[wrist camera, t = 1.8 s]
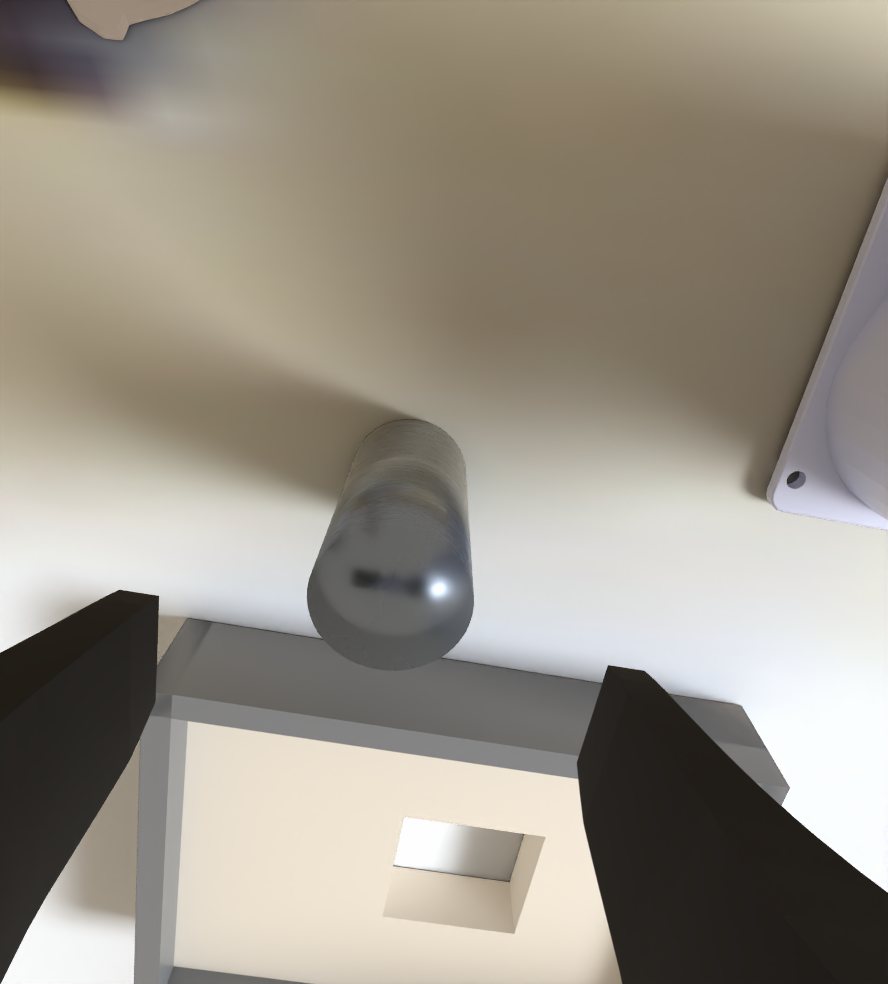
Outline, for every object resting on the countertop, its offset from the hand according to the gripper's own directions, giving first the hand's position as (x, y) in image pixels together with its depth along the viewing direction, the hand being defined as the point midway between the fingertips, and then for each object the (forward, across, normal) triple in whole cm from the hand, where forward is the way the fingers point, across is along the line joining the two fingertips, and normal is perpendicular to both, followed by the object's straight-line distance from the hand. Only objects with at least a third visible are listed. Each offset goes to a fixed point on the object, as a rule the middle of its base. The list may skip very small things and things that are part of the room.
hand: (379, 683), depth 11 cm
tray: (+9, -3, +13) cm, 16 cm away
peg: (+9, 0, 0) cm, 9 cm away
